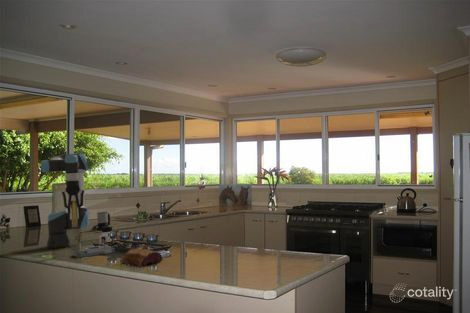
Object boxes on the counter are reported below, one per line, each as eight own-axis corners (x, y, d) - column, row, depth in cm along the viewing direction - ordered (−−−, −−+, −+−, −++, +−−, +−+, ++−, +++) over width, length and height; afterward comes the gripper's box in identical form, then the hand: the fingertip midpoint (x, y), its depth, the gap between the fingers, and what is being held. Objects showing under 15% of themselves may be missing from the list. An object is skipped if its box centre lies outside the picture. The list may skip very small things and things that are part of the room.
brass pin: (71, 227, 277) (70, 200, 277) (77, 226, 278) (75, 200, 279) (72, 227, 274) (71, 201, 274) (78, 226, 276) (76, 200, 276)
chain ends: (73, 255, 268) (72, 249, 268) (110, 250, 279) (110, 244, 280) (76, 258, 259) (76, 251, 259) (115, 252, 271) (114, 246, 271)
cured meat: (141, 255, 255) (140, 243, 255) (169, 260, 238) (168, 247, 238) (113, 263, 242) (112, 250, 242) (141, 268, 225) (139, 254, 225)
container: (110, 247, 291) (109, 226, 291) (99, 247, 292) (98, 227, 293) (116, 244, 298) (115, 225, 299) (105, 245, 300) (104, 225, 300)
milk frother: (107, 230, 379) (106, 212, 379) (88, 231, 379) (87, 213, 379) (111, 227, 393) (111, 210, 393) (93, 228, 393) (93, 211, 393)
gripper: (59, 181, 269) (61, 220, 269) (87, 179, 277) (89, 217, 277) (57, 181, 276) (59, 219, 275) (84, 179, 284) (86, 216, 284)
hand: (74, 218), depth 276 cm, fingers closed on brass pin, 3 cm apart
